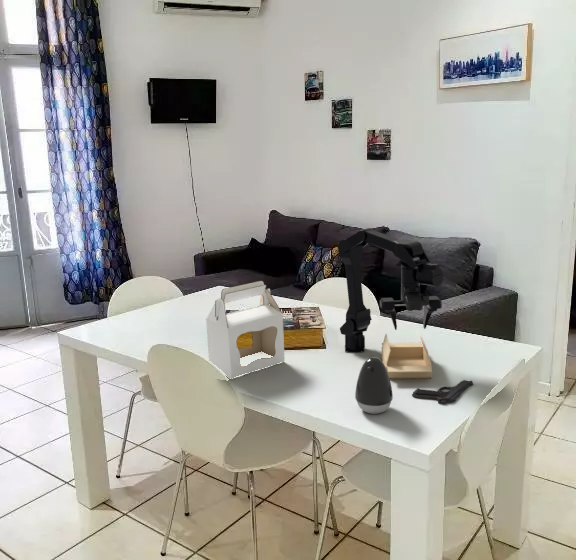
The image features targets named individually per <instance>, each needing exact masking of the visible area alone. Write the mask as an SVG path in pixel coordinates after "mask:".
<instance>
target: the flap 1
mask: <svg viewBox="0 0 576 560" xmlns="http://www.w3.org/2000/svg"><path fill="white" fill-rule="evenodd" d="M382 343H383V345H382V344H381V349H382V348H383V353H384V357H385V362H386V364H387V363H388V359H389V356H390V352H391V350H390V346H389V343H390V342H389V338H388V335H387V333H385V334H384V338H383V342H382Z"/></svg>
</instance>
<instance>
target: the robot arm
mask: <svg viewBox="0 0 576 560" xmlns="http://www.w3.org/2000/svg"><path fill="white" fill-rule="evenodd" d="M368 244H370V245H372V246H375V247H377V248H380V249H383V250H385V251H388V252H390V253H392V254H393V255H394V257H395V258H397V259H399V261H398V262H397V263H396V264H395V267H397V268H401V269H400V270H401V271H400V273H401V277H400V278H401V281H400V285H401V286H400V300H394V298H393V297H381V298H380V299H379V308H380V309H381V310H382V311H383V312H385V313H386V314H389V316H390V318H391V321H392V324H393V328H394V330H395V331H397V329H398V325H397V315H396V313H397V312H396V310H395V309H396V307H406V310H407V311H408V312H409V311H410V312H412V311H419V312H420V311H422V310H423V319H422V320H423V322H422V324H423V329H424V330H425V329H426V328H427V326H428V324H429V321H430V318H431V316H432V315H433V314H434V312H437V311H438V309H442V308H443V307H442V305H443V303H442V300H441V299H440V298H439V297H438V296H437V295H430V294H429V293H422V292H421V286H420V285H426V286H429V287H434V288H435V287H436V288H438V287H440V286H441V284H443V283H442V282H443V281H444V273H443V270H442V269H441V268H440V264H439V263H431V260H430V259H429V257H428V255H427V254H426V251H425V250H424V248H423V245H422V243H421V242H419V241H416V240H411V239H409V240H408V239H398V238H396V237H393V236H390V235H387V234H385V233H381V232H380V231H377V230H374V229H372V228H369V227H368V228H363V229H360V230H359V231H357V232H356V233H354V234H352V235H351V236H349V237H347V238H345V239H340V241H339V242H338V243H337V250H338V255H339V258H340V260H341V261H342V263H343V264H344V268H345V276H346V277H345V278H346V285H347V286H346V287H347V298H348V307H347V311H346V313H345V322H344V323H343V324H342V325H341V326H340V327H339V331H340V334H341V335H344V352H345V353H362V352H365V350H364V349H366V341H365V339H366V338H365V336H366V335H364V332H367V331H368V328H369V326H370V325H371V321H372V320H373V319H372V316H371V309H370V308H367V306H366V305H365V303H364V297H363V294H364V293H363V286H362V276H361V268H360V263H361V260H362V257H363V255H364V254H363V253H364V247H366V246H367V245H368ZM423 307H424V308H423Z"/></svg>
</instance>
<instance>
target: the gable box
mask: <svg viewBox="0 0 576 560" xmlns="http://www.w3.org/2000/svg"><path fill="white" fill-rule="evenodd" d="M264 283H265V282H264V281H263V280H258V281H253V282H250V283H243V284H240V285H235V286H231V287H227V288H223V289H222V290H221V293H220V294H221V295H220V297H219V298H217V299H216V300H215V301H214V303H213V306H212V308H211V310H210V311H209V313H208V316H207V317H206V319H205V320H206V322H205V324H206V325H205V326H206V335H207V337H206V338H207V350H208V351H207V353H208V362H209V361H211V362H212V363H213V364H214V365H216V366H217V367H218V368H219V369H221V370H222V371H223V372H224V373H225V374H226V375H227V376H228V377H229V378H231V379H232V378H234V377H236V376H239V375H242V374H245V373H249V372H252V371H255V370H258V369H262V368H265V367H268V366H271V365H274V364H277V363H280V362H284V361H285V358H286V357H285V342H284V341H285V339H284V315H283V312H282V309H281V308H280V307H279V305H278V304H277V302H276V300H275V298H274V297H273V296H272V293H271V288H269V287H268V288H267V285H266V284H264ZM257 296H260V299H259V305H257V306H253V307H249V308H245V309H241V310H237V311H234V312H233V311H232V312H229V313H227V311H226V306H225V305H226V304H229V303H231V302H236V301H239V300H243V299H248V298H253V297H257ZM250 332H251V333H252V334H251V340H252V345H251V346H250V347H249V348H238V344H237V339H238V338H239V337H240V336H241V335H242V334H246V333H250ZM261 351H262V352H264V353H266V354H268V355H271V356H273V357H271V358H261V359H257V360H255V361H253V362H251V363H250V364H248V365H247V366H241V364H240V358H242V357H245V356H248V355H252V354H255V353H258V352H261ZM284 363H285V362H284ZM229 378H228V379H229ZM231 379H230V380H231Z"/></svg>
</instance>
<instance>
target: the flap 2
mask: <svg viewBox="0 0 576 560" xmlns="http://www.w3.org/2000/svg"><path fill="white" fill-rule="evenodd" d="M419 336H420V340H421V344H422V346H423V347H424V350H425V352H426V355H427V357H428V360H429V362H430V364H431V365H432V362H431V359H430V358H431V357H430V355H429V351H428V348H427V346H426V343H425V341H424V339H423V337H422V334H421V333H419Z"/></svg>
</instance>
